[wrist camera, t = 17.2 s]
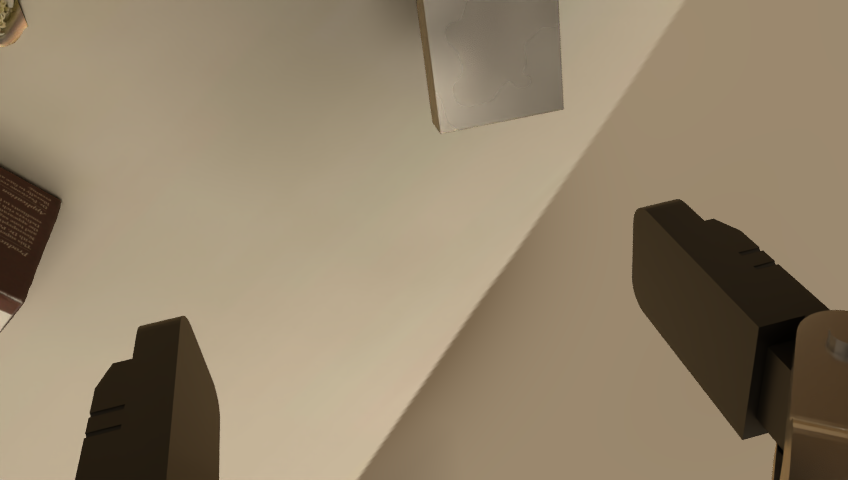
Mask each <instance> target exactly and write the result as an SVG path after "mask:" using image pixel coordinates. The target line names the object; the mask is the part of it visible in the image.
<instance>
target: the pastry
mask: <svg viewBox="0 0 848 480" xmlns="http://www.w3.org/2000/svg"><path fill="white" fill-rule="evenodd" d="M27 27H28V25H27V23H26V21H25V18H24V16H23V13H22V11H21V8H20V6H19V3H18V1H17V0H0V47H5V46H8V45H11V44H13V43H15V42H16V41H17V40H18V38H19V37H20V35H21V34H22V32H23V30H24V29H25V28H27Z"/></svg>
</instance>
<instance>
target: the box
mask: <svg viewBox="0 0 848 480" xmlns="http://www.w3.org/2000/svg"><path fill="white" fill-rule="evenodd" d="M60 206H61V200H59V199H58V198H56V197H54V196H52V195H50V194H48V193H46V192H45V191H43V190H41V189H39V188H38V187H36V186H34V185H32V184H30V183H29V182H27V181H25V180H23V179H21V178H20V177H18V176H16V175H14V174H13V173H11V172H9V171H7V170H5V169H3V168H1V167H0V332H1V331H2V330H3V329H4V327H5V326H6V325H7V324H8V323H9V321H10V320H11V319H12V318H13V316H14V315H15V314H16V312H17V311H18V310H19V309H20V307H21V306H22V305H23V303H24V302H25V299H26V297H27V294H28V290H29V288H30V286H31V284H32V281H33V279H34V275H35V272H36V269H37V267H38V265H39V262H40V260H41V257H42V254H43V251H44V249H45V246H46V244H47V241H48V240H49V237H50V234H51V232H52V229H53V226H54V224H55V222H56V219H57V216H58V213H59V209H60Z"/></svg>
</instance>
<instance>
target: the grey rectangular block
mask: <svg viewBox="0 0 848 480" xmlns="http://www.w3.org/2000/svg"><path fill="white" fill-rule="evenodd" d="M416 3H417V11H418V18H419V26H420V33H421V40H422V48H423V55H424V63H425V70H426V78H427V85H428V93H429V100H430V108H431V115H432V122H433V124H434V125H435V127H436V128H437V129H438V131H439V132H440V134H442V133H447V132H452V131H457V130H462V129H468V128H473V127H478V126H483V125H488V124H493V123H498V122H503V121H508V120H513V119H518V118H523V117H528V116H533V115H538V114H543V113H548V112H553V111H558V110H563V109H564V107H563V86H562V65H561V45H560V24H559V3H558V0H416Z"/></svg>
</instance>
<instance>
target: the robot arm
mask: <svg viewBox="0 0 848 480" xmlns="http://www.w3.org/2000/svg"><path fill="white" fill-rule="evenodd" d="M632 282H633V289H634V292H635V296H636V299H637V301H638V303H639V305H640V308H641V309H642V311H643V312H644V313H645V315H646V316H647V317H648V319H649V320H650V321H651V322H652V324H653V325H654V326H655V328H656V329H657V330H658V332H659V333H660V334H661V336H662V337H663V338H664V339H665V341H666V342H667V343H668V344H669V346H670V347H671V348H672V350H673V351H674V352H675V354H676V355H677V356H678V357H679V359H680V360H681V361H682V363H683V364H684V365H685V366H686V368H687V369H688V370H689V372H691V374H692V375H693V376H694V378H695V379H696V381H697V382H698V383H699V385H700V386H701V387H702V388H703V390H704V391H705V392H706V393H707V395H708V396H709V397H710V399H711V400H712V401H713V403H714V404H715V405H716V406H717V408H718V409H719V410H720V411H721V413H722V414H723V416H724V417H725V418H726V419H727V421H728V422H729V423H730V425H731V426H732V427H733V428H734V430H735V431H736V432H737V433H738V435H739V436H740V437H741V439H742V440H744V439H748V438H751V437H755V436H759V435H762V434H765V433H769V434H770V435H771V436H772V438H773V439H774V440H775V441H776V447H775V453H774V460H773V471H772V480H848V311H845V310H829V309H828V308H827V307H826V306H825V305H824V304H823V303H821V302H820V301H819V300H818V299H817V298H816V297H815V296H814V295H813V294H811V293H810V292H809V291H808V290H807V289H806V288H805V287H804V286H802V285H801V284H800V283H799V282H798V281H797V280H795V278H793V277H792V276H791V275H790V274H789V273H788V272H787V271H785V270H784V269H783V268H782V267H781V266H780V265H776V264H775V261H774V260H773V259H772V258H771V257H770V256H769V255H767V254H766V253H765V252H764V251H760V249H759V247H758V246H757V245H756V244H755V243H754V242H753V241H752V240H750V239H749V238H748V237H747V236H746V235H745V234H744V233H743V232H741V231H740V230H738V229H736V228H733V227H731V226H729V225H727V224H724V223H722V222H720V221H717V220H715V219H711V220H706V221H704V220H703V219H702V218H701V217H700V216H699V215H697V214H696V213H695V212H694V211H693V210H692V209H691V208H690V207H689V206H688V205H687V204H686V203H684V202H683V201H682V200H680V199H676V200H672V201H668V202H663V203H659V204H655V205H650V206H646V207H643V208H639V209H637V210H636V212H635V214H634V223H633V263H632ZM90 415H91V417H90V418H89V419H88V423H87V428H86V432H85V434H86V438H84V441H83V446H82V451H81V455H80V460H79V464H78V469H77V473H76V478H75V480H219V442H220V412H219V404H218V398H217V394H216V390H215V386H214V383H213V380H212V378H211V375H210V373H209V370H208V368H207V365H206V363H205V360H204V358H203V355H202V353H201V350H200V348H199V345H198V342H197V340H196V337H195V335H194V332H193V330H192V327H191V325H190V323H189V321H188V319H187V318H186V317H185V316H180V317H176V318H172V319H168V320H164V321H160V322H155V323H151V324H147V325H143V326H140V327H139V328H138V330H137V335H136V341H135V347H134V353H133V359H129V360H125V361H121V362H117V363H113V364H112V365H111V367H110V368H109V370H108V371H107V372H106V374H105V375H104V377H103V378H102V379H101V381H100V382H99V384H98V385H97V386H96V388H95V391H94V396H93V401H92V405H91V410H90Z"/></svg>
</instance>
